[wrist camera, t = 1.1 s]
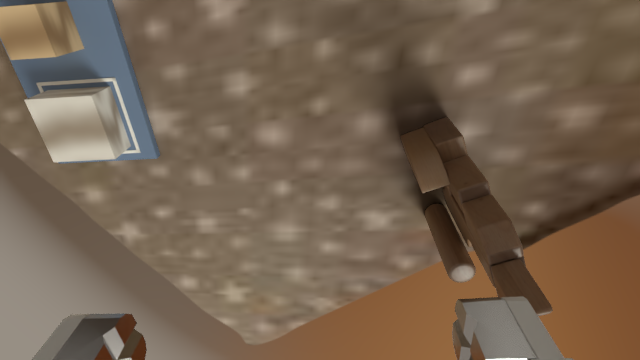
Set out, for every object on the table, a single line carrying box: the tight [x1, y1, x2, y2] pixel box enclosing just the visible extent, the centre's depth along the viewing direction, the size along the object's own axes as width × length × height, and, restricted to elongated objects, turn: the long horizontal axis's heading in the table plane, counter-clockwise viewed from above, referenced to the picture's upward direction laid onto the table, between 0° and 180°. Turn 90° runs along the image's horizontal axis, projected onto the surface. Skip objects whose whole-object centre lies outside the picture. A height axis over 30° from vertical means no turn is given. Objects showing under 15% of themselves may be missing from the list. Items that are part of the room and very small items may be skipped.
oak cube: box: [0, 1, 84, 60], centre depth 39 cm, size 5×5×5 cm
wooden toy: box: [400, 117, 552, 316], centre depth 40 cm, size 16×7×25 cm, turn 23°
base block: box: [24, 86, 131, 162], centre depth 45 cm, size 8×8×4 cm
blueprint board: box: [0, 0, 160, 163], centre depth 45 cm, size 22×14×1 cm, turn 4°
